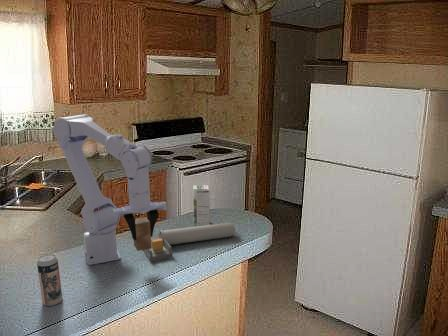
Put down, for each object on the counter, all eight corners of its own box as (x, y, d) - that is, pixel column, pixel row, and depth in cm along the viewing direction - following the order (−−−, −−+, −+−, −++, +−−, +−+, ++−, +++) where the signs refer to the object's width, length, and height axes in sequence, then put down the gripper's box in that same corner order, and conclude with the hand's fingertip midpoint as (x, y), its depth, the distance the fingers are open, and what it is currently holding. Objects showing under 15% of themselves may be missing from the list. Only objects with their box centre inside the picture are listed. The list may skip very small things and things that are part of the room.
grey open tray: (172, 257, 129) (172, 246, 128) (150, 262, 126) (149, 251, 125) (161, 242, 139) (161, 232, 139) (140, 246, 137) (140, 236, 136)
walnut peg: (137, 251, 118) (135, 224, 116) (134, 245, 122) (132, 219, 119) (151, 248, 120) (149, 221, 118) (147, 242, 123) (146, 217, 121)
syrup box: (193, 222, 156) (192, 184, 153) (209, 221, 157) (208, 184, 153) (194, 228, 151) (192, 189, 147) (210, 227, 151) (209, 188, 148)
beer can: (47, 309, 103) (41, 264, 100) (38, 302, 106) (32, 258, 103) (66, 301, 106) (61, 257, 103) (57, 294, 109) (51, 251, 106)
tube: (231, 221, 146) (159, 229, 139) (236, 221, 141) (161, 230, 134) (233, 236, 146) (160, 246, 139) (237, 237, 141) (163, 247, 133)
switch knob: (163, 248, 130) (162, 240, 130) (153, 250, 129) (152, 242, 128) (161, 247, 132) (161, 238, 131) (152, 248, 131) (151, 240, 130)
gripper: (114, 199, 110) (119, 247, 113) (168, 191, 115) (171, 237, 119) (110, 191, 116) (114, 237, 119) (161, 184, 122) (164, 228, 125)
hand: (142, 237), depth 120 cm, fingers closed on walnut peg, 4 cm apart
